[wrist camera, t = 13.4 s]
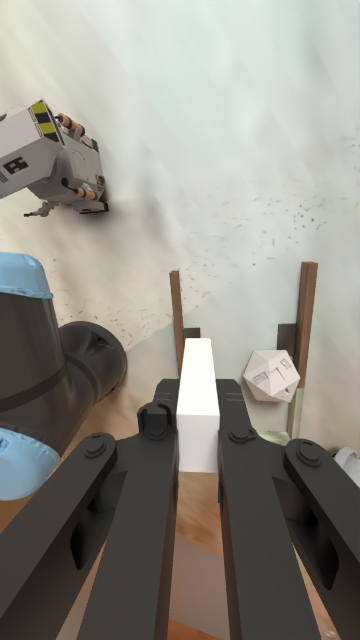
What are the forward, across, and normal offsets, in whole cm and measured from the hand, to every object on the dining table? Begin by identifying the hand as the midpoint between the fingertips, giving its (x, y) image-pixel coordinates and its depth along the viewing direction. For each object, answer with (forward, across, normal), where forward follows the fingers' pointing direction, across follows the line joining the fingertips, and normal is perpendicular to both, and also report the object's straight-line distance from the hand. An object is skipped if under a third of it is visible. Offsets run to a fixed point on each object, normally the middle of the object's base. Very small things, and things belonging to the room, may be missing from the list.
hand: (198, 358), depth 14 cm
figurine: (+25, -18, +16) cm, 35 cm away
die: (+25, +10, -12) cm, 29 cm away
